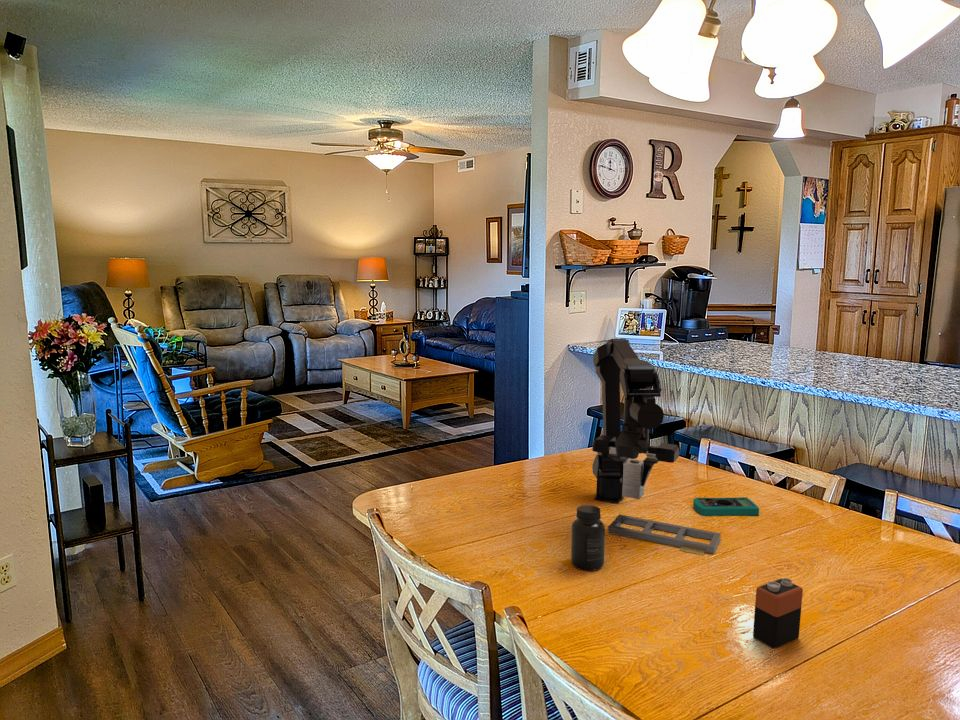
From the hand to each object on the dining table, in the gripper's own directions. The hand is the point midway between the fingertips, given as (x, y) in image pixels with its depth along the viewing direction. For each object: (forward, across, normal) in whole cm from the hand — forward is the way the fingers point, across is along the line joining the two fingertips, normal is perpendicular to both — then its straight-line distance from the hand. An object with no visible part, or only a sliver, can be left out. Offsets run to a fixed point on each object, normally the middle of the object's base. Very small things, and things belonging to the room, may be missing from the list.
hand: (633, 484), depth 157 cm
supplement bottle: (+11, -3, -22) cm, 25 cm away
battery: (+11, +34, -33) cm, 49 cm away
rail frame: (+11, +7, 0) cm, 13 cm away
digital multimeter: (+12, +17, +24) cm, 32 cm away
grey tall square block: (+3, 0, 0) cm, 3 cm away
